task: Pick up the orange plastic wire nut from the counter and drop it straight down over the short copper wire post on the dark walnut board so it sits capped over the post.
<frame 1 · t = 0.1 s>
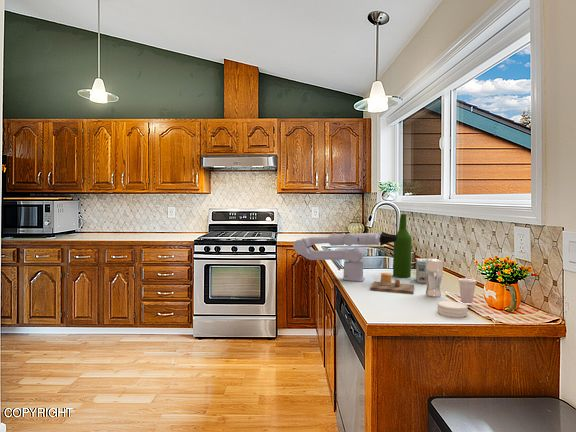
hand: (396, 238, 191), 22 cm above the table, tool horizontal, fingers open, 7 cm apart
coaster: (452, 314, 142), on the table
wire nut: (386, 283, 191), on the table
wine bottle: (401, 276, 209), on the table
junction board: (392, 288, 180), on the table
smoothie: (466, 305, 154), on the table
beer glass: (433, 295, 168), on the table
light bulb box: (423, 281, 197), on the table
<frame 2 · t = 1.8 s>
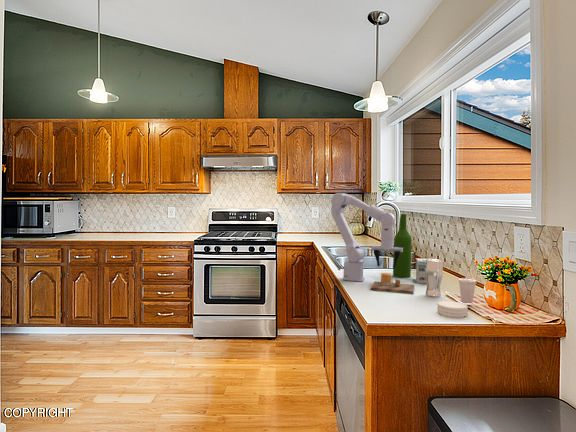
hand: (386, 266, 191), 8 cm above the table, tool pointing down, fingers open, 7 cm apart
nothing on the table moved.
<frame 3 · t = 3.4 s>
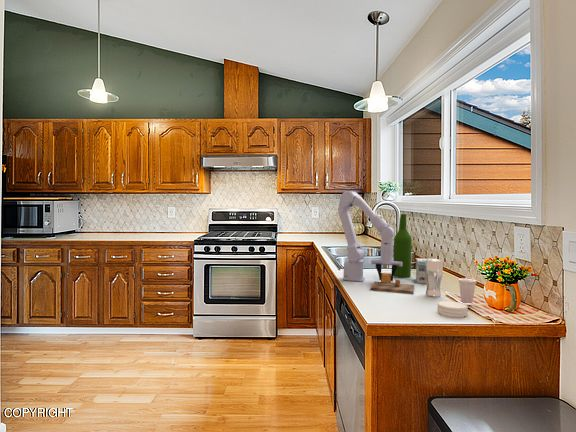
hand: (386, 280, 191), 1 cm above the table, tool pointing down, fingers closed on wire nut, 5 cm apart
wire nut: (386, 283, 191), on the table, touching gripper
everything else where it was.
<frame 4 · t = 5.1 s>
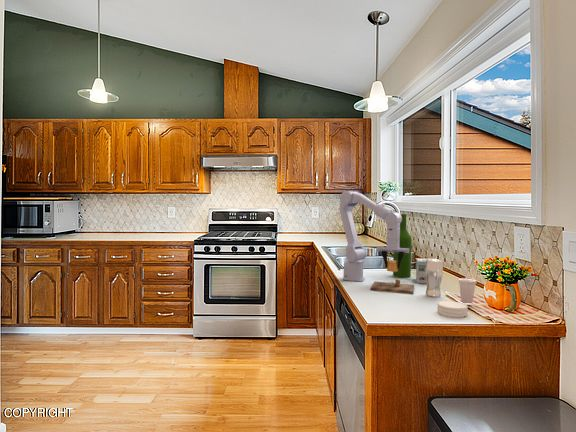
hand: (392, 267, 185), 9 cm above the table, tool pointing down, fingers closed on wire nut, 5 cm apart
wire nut: (392, 270, 185), point 7 cm above the table, touching gripper
everything else where it was.
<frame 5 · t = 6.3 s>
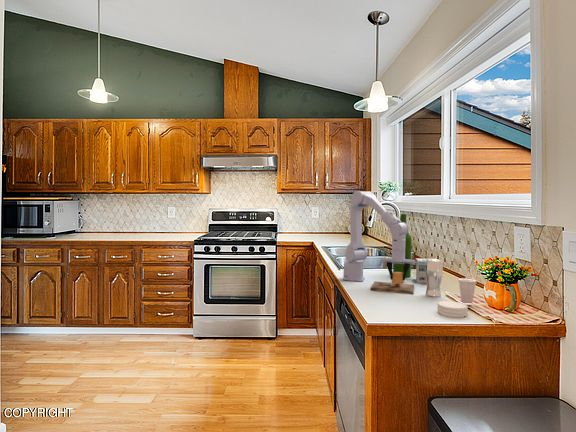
hand: (397, 279, 179), 4 cm above the table, tool pointing down, fingers closed on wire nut, 5 cm apart
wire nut: (397, 282, 179), point 3 cm above the table, touching gripper
everything else where it was.
when the fingers open (4 cm above the table, at t = 7.2 s): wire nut drops 2 cm, resting on junction board.
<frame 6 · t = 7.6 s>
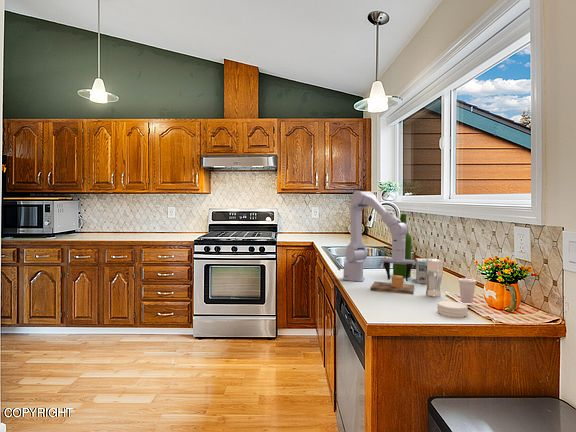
hand: (397, 279, 179), 4 cm above the table, tool pointing down, fingers open, 7 cm apart
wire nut: (397, 286, 179), point 1 cm above the table, touching junction board
everything else where it was.
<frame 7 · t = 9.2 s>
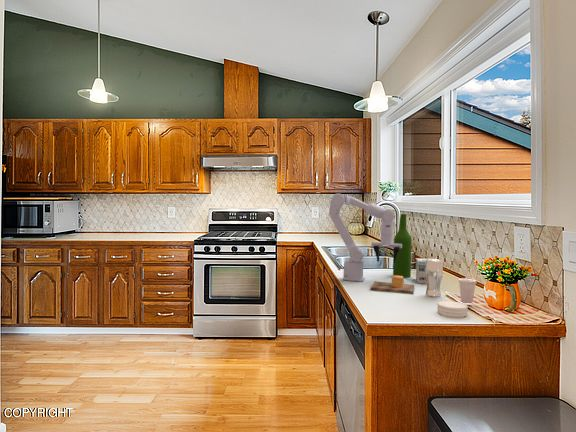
hand: (386, 262, 196), 9 cm above the table, tool pointing down, fingers open, 7 cm apart
nothing on the table moved.
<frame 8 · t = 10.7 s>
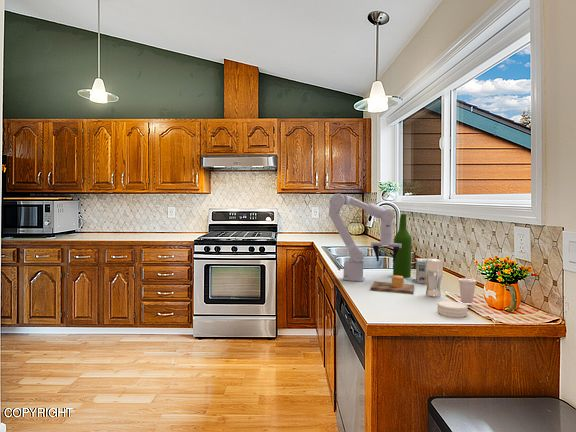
hand: (385, 261, 197), 9 cm above the table, tool pointing down, fingers open, 7 cm apart
nothing on the table moved.
at the end: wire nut 0.0 cm from the target spot on the junction board, point 1.2 cm above the junction board's base; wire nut tilted 0°; the gripper is holding nothing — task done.
